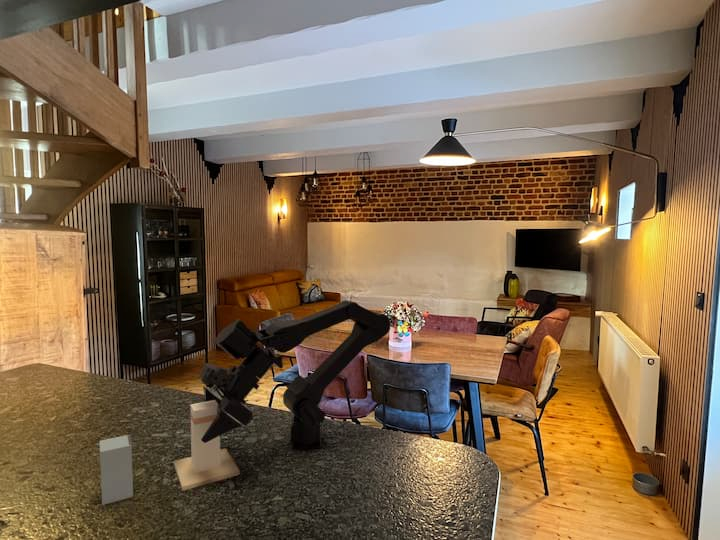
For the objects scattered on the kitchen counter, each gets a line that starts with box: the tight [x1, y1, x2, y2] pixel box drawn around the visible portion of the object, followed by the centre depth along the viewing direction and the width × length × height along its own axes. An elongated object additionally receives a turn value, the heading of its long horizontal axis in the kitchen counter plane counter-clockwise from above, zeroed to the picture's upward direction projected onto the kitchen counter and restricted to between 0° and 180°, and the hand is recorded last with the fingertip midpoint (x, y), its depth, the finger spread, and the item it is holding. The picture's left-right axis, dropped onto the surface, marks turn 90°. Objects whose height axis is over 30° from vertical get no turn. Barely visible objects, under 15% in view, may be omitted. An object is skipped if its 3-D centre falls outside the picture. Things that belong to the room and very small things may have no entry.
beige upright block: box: [189, 400, 221, 473], centre depth 90 cm, size 5×4×13 cm
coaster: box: [172, 447, 241, 492], centre depth 90 cm, size 11×11×1 cm
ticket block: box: [99, 434, 134, 506], centre depth 81 cm, size 5×5×10 cm
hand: (198, 432), depth 89 cm, fingers open, 9 cm apart
